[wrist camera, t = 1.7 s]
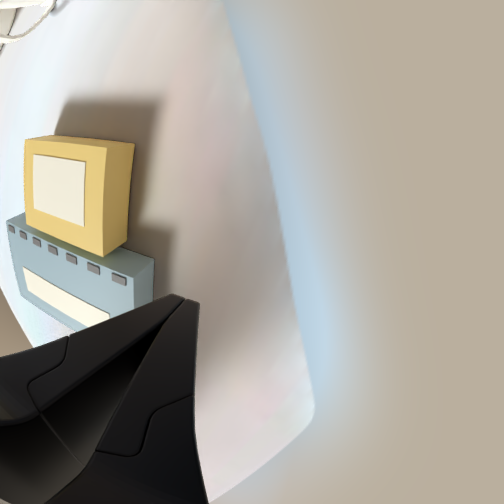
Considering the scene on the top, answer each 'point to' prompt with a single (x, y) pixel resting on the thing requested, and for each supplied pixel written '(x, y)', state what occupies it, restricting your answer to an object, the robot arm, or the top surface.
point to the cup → (22, 0)
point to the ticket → (77, 277)
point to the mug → (6, 21)
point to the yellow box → (78, 190)
